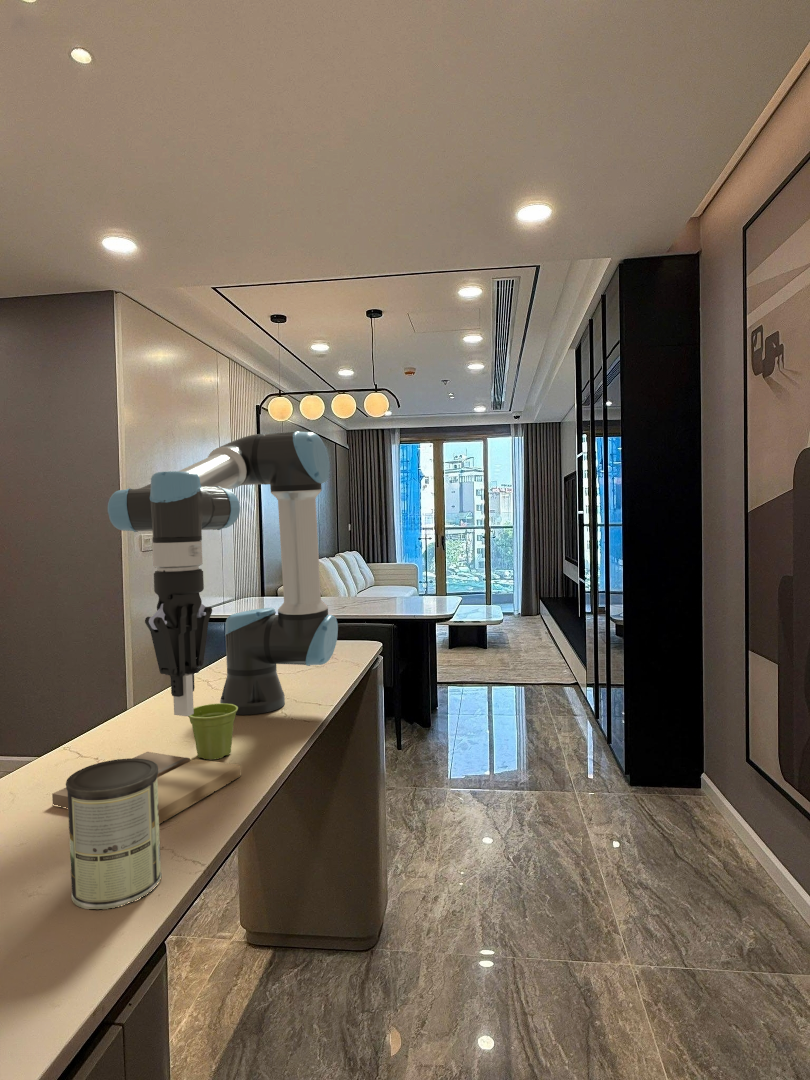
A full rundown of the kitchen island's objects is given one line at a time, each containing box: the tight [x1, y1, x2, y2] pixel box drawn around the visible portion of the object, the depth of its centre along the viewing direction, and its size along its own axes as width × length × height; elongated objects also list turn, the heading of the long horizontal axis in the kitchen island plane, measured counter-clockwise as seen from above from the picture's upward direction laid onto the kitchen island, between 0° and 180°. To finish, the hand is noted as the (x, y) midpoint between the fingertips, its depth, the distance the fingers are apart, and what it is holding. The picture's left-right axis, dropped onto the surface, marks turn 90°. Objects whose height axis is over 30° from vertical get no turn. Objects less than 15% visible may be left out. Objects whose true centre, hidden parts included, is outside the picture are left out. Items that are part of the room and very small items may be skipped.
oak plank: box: [157, 758, 242, 825], centre depth 107 cm, size 20×10×2 cm, turn 157°
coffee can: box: [65, 757, 162, 910], centre depth 81 cm, size 10×10×14 cm
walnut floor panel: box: [51, 751, 191, 808], centre depth 112 cm, size 20×10×2 cm, turn 157°
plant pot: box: [187, 702, 238, 760], centre depth 126 cm, size 9×9×9 cm
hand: (183, 714), depth 106 cm, fingers closed
